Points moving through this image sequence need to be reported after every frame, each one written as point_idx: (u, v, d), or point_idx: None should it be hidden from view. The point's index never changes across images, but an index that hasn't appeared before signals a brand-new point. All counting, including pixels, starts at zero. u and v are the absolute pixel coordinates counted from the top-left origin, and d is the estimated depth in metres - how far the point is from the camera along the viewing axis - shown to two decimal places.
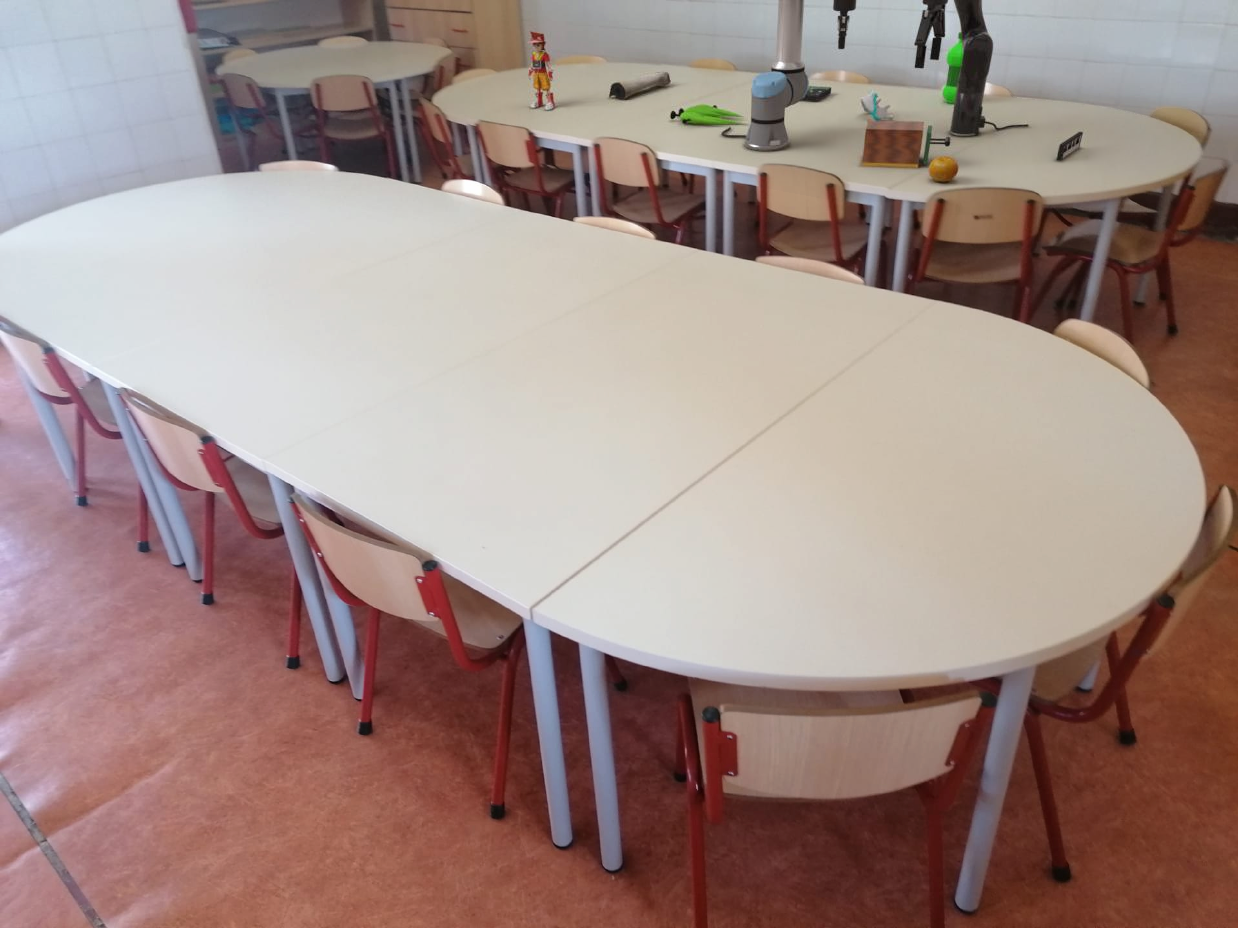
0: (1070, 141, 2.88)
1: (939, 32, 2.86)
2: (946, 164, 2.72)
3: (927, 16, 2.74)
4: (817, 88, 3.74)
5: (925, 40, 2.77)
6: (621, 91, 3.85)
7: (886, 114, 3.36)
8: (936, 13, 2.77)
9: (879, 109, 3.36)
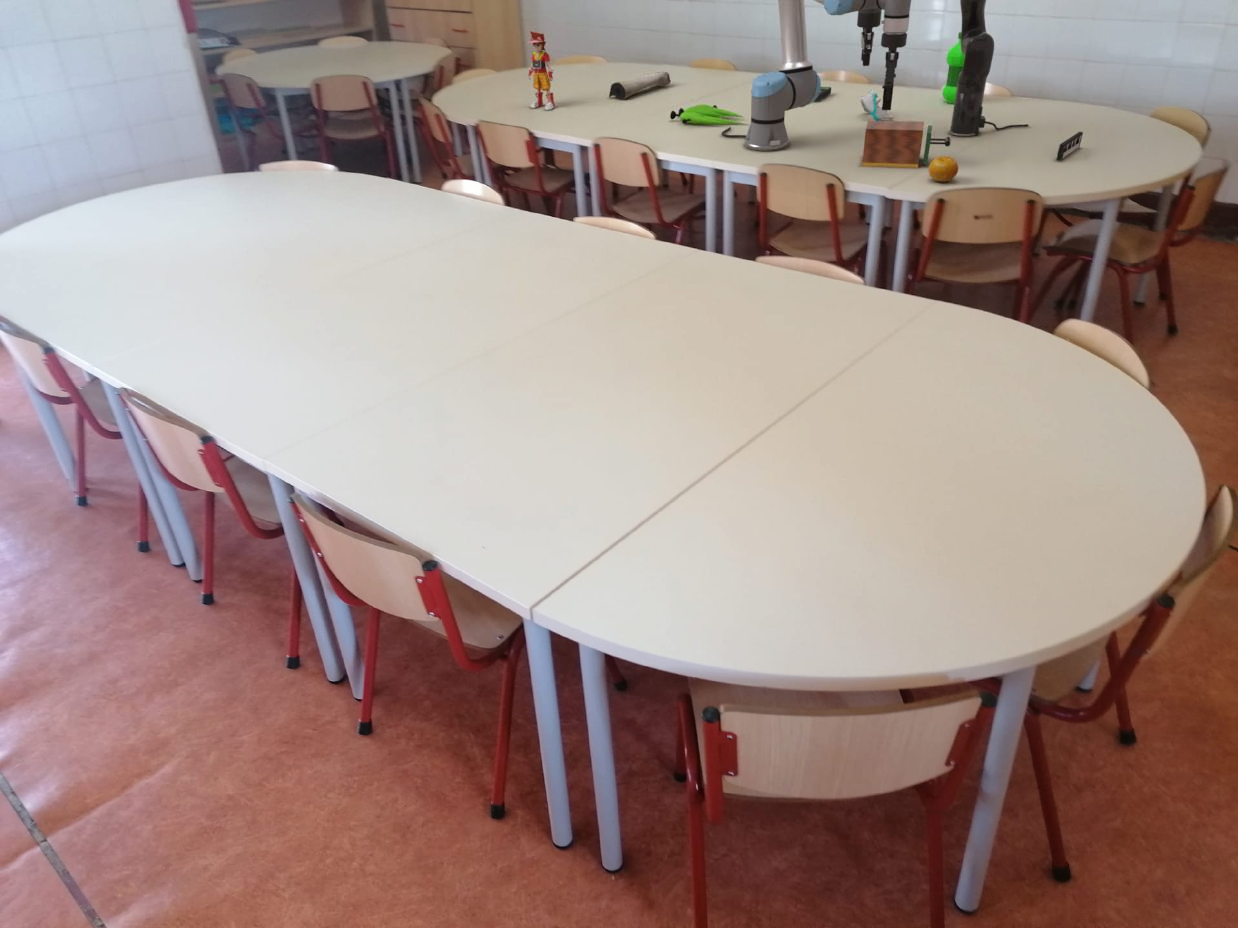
0: (1070, 141, 2.88)
1: None
2: (946, 164, 2.72)
3: None
4: None
5: None
6: (621, 91, 3.85)
7: (886, 114, 3.36)
8: None
9: (879, 109, 3.36)
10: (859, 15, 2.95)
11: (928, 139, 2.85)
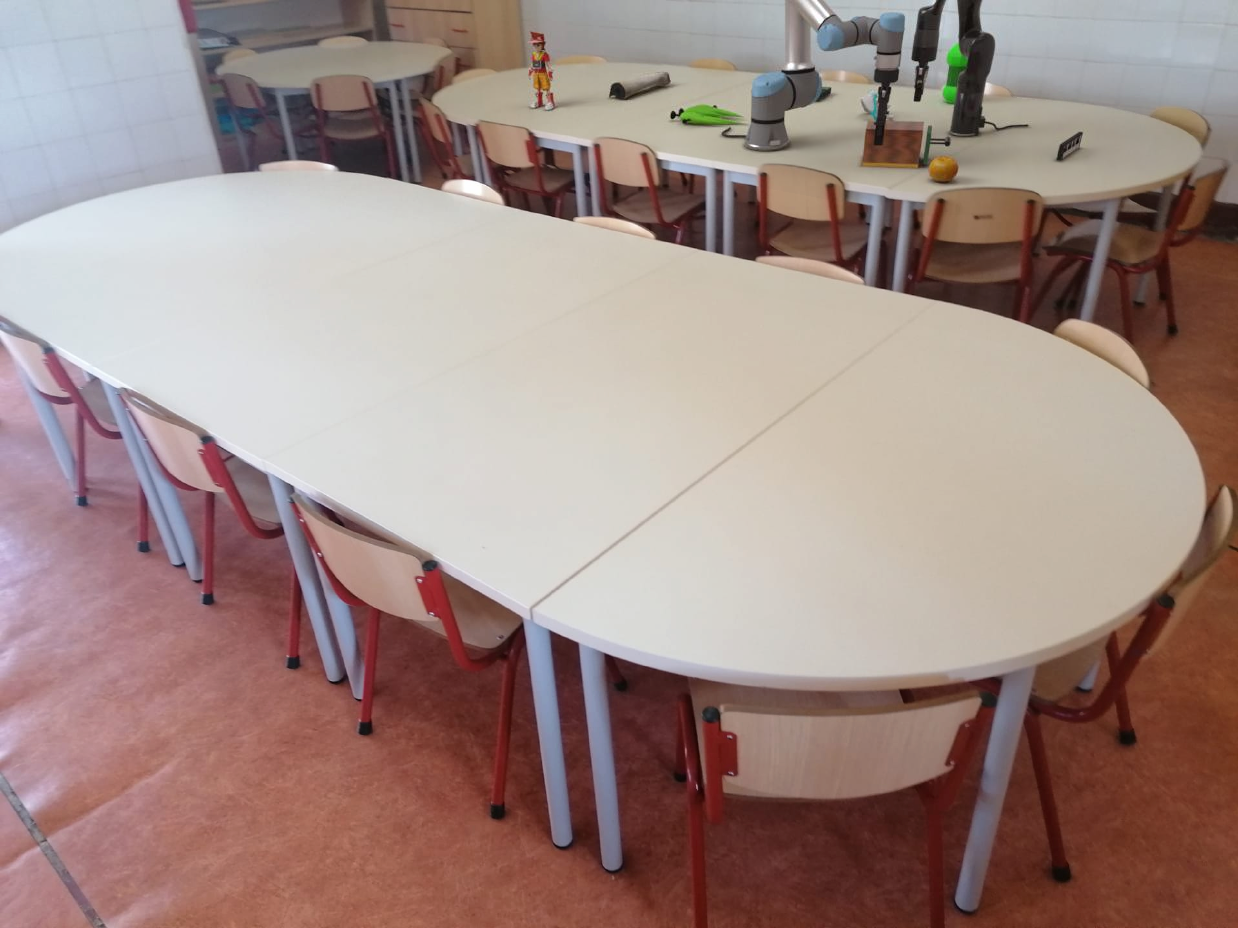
0: (1070, 141, 2.88)
1: None
2: (946, 164, 2.72)
3: None
4: None
5: None
6: (621, 91, 3.85)
7: (886, 114, 3.36)
8: None
9: None
10: None
11: (928, 139, 2.85)
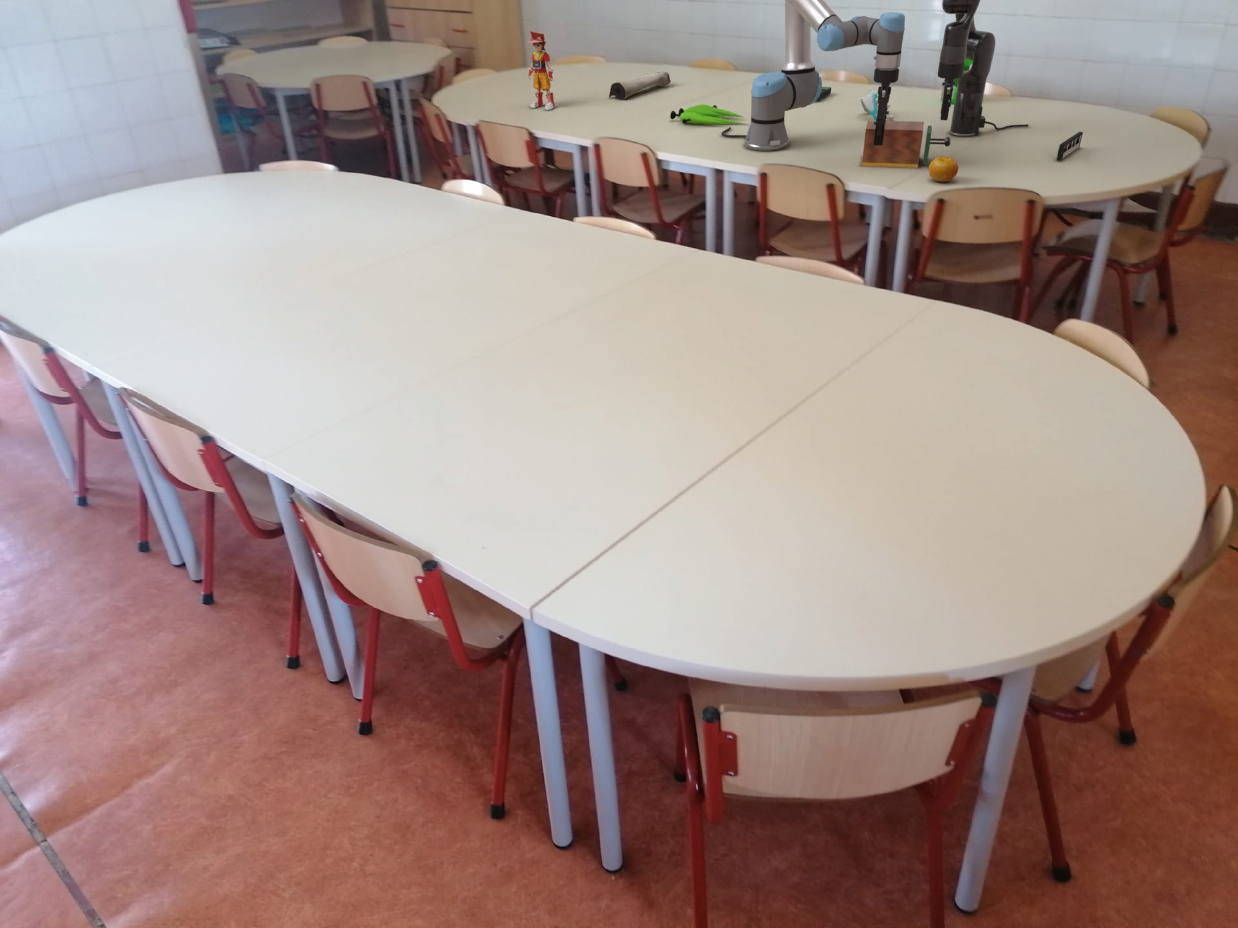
0: (1070, 141, 2.88)
1: None
2: (946, 164, 2.72)
3: None
4: None
5: None
6: (621, 91, 3.85)
7: (886, 114, 3.36)
8: None
9: None
10: None
11: (928, 139, 2.85)
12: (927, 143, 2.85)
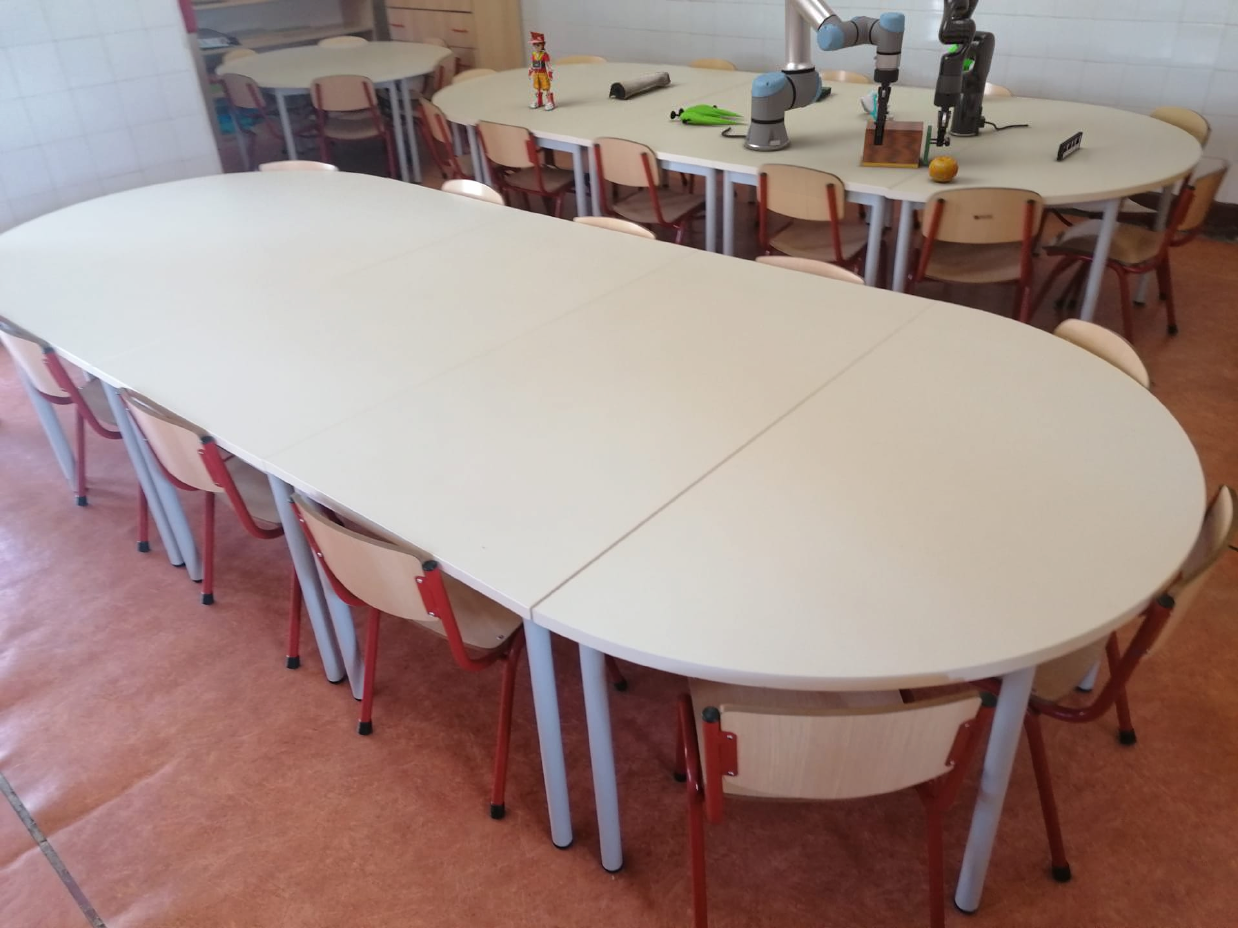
0: (1070, 141, 2.88)
1: None
2: (946, 164, 2.72)
3: None
4: None
5: None
6: (621, 91, 3.85)
7: (886, 114, 3.36)
8: None
9: None
10: None
11: (928, 139, 2.85)
12: (927, 143, 2.85)
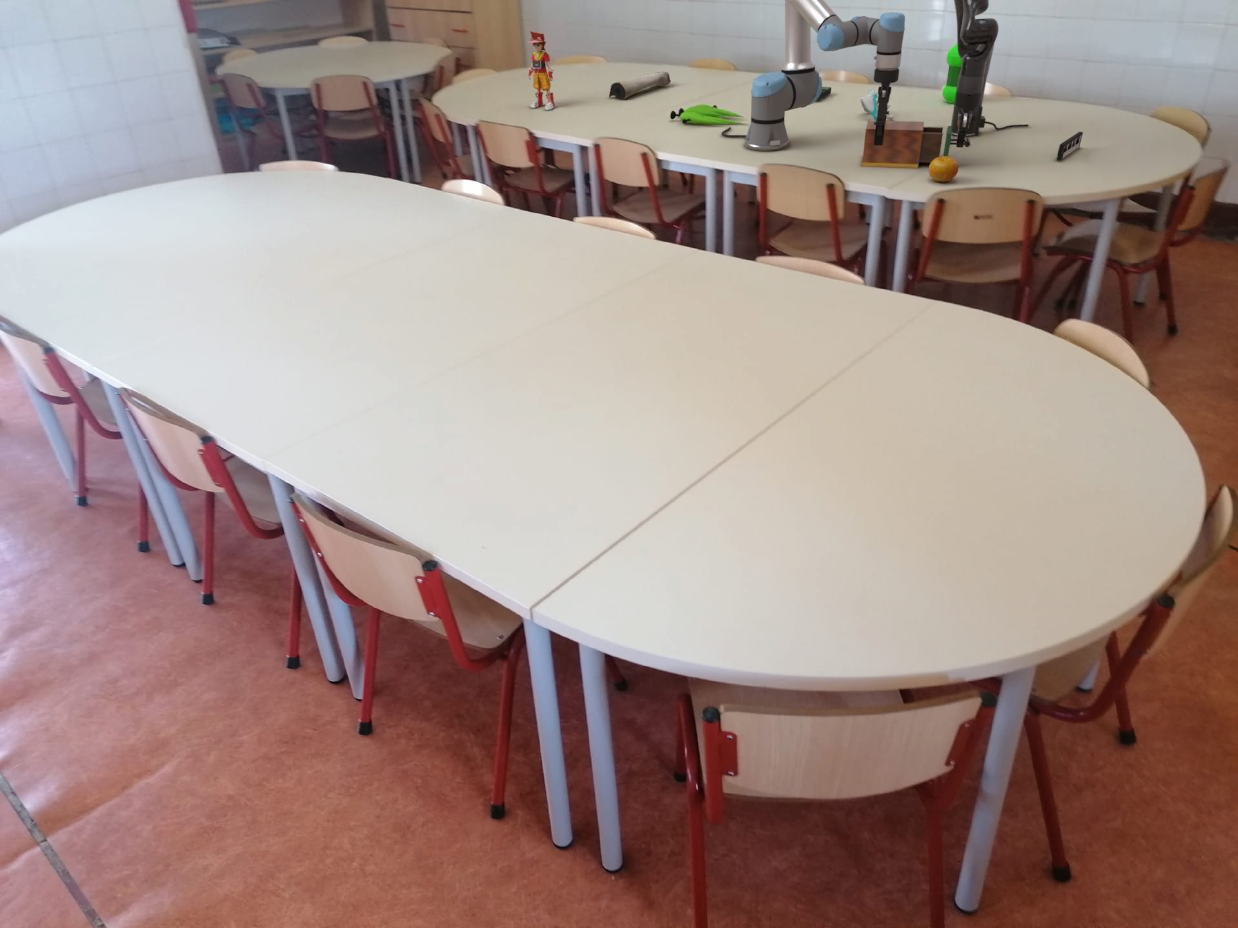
0: (1070, 141, 2.88)
1: None
2: (946, 164, 2.72)
3: None
4: None
5: None
6: (621, 91, 3.85)
7: (886, 114, 3.36)
8: None
9: None
10: None
11: (948, 140, 2.83)
12: (947, 144, 2.84)
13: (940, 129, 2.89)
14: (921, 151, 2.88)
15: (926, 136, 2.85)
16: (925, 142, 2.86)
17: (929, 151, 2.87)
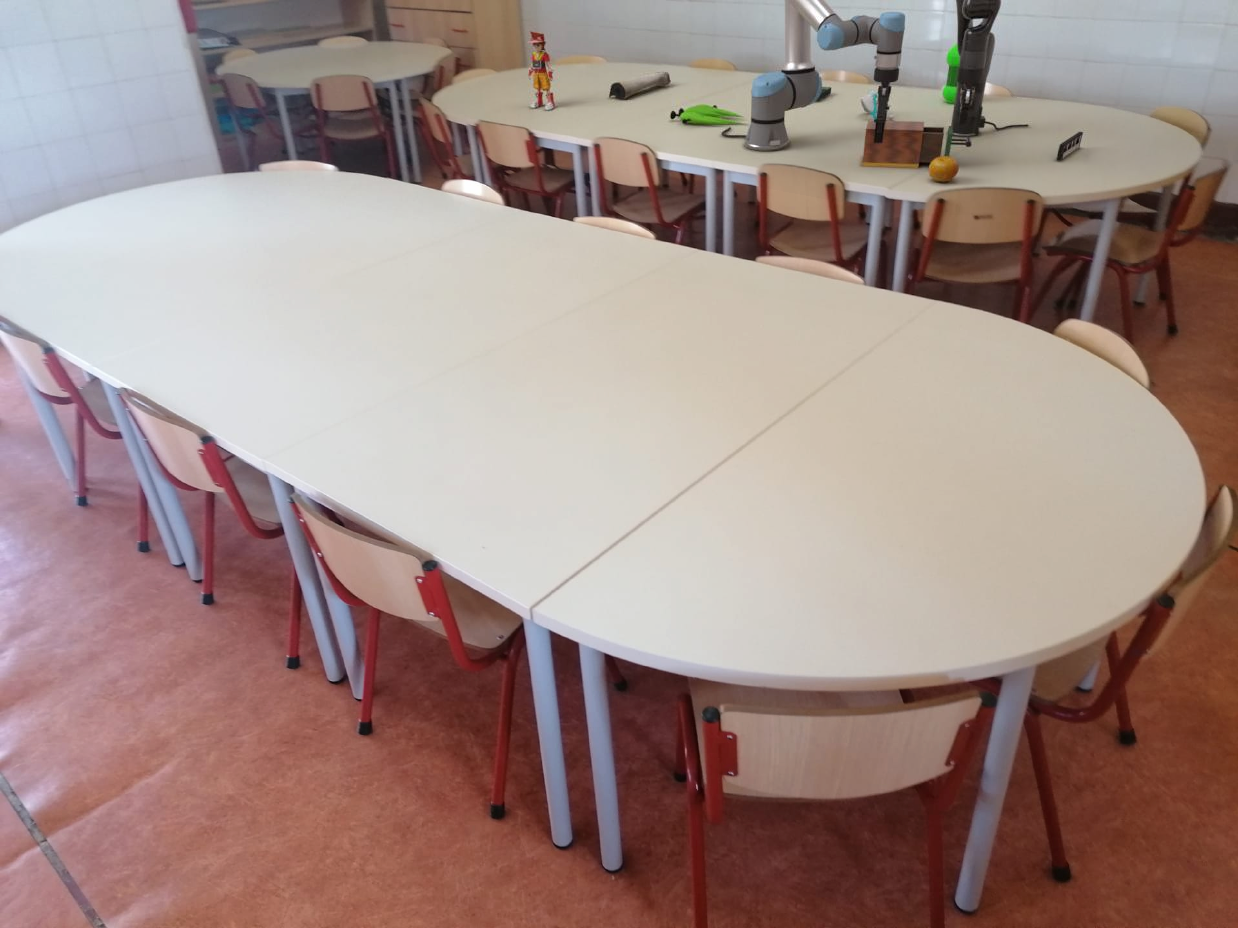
0: (1070, 141, 2.88)
1: None
2: (946, 164, 2.72)
3: None
4: None
5: None
6: (621, 91, 3.85)
7: None
8: None
9: None
10: None
11: (949, 140, 2.83)
12: (948, 144, 2.84)
13: (941, 129, 2.89)
14: (922, 151, 2.88)
15: (927, 136, 2.85)
16: (926, 142, 2.86)
17: (930, 151, 2.87)
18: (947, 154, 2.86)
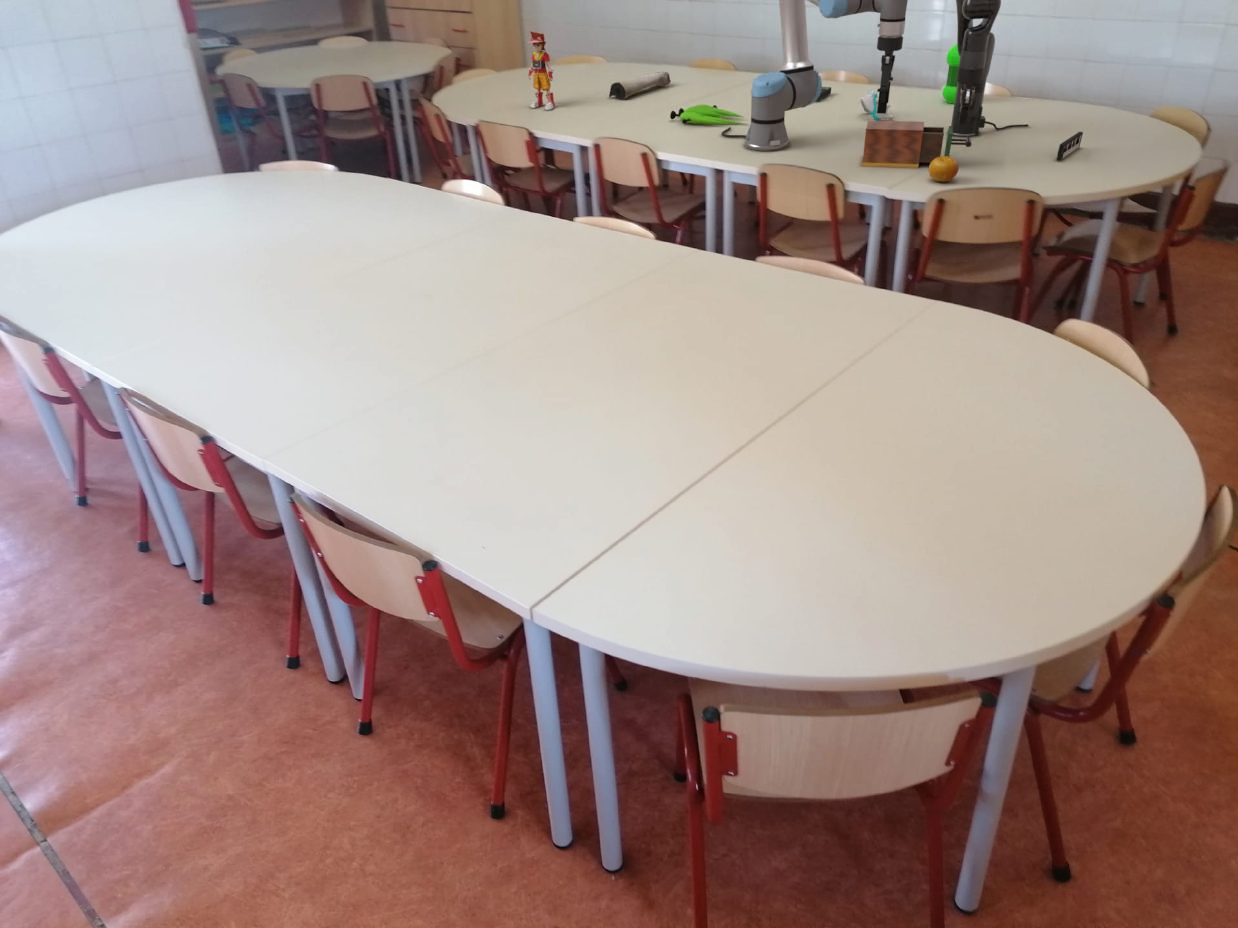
0: (1070, 141, 2.88)
1: None
2: (946, 164, 2.72)
3: None
4: None
5: None
6: (621, 91, 3.85)
7: (886, 114, 3.36)
8: None
9: None
10: None
11: (949, 140, 2.83)
12: (948, 144, 2.84)
13: (941, 129, 2.89)
14: (922, 151, 2.88)
15: (927, 136, 2.85)
16: (926, 142, 2.86)
17: (930, 151, 2.87)
18: (947, 154, 2.86)
